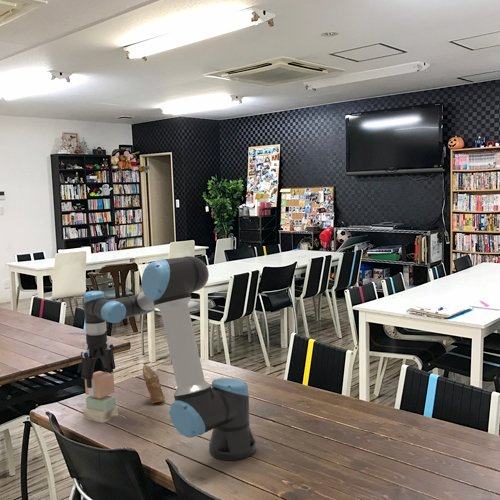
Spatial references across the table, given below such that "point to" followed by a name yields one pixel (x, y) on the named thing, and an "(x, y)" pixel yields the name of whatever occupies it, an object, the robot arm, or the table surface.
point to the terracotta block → (102, 384)
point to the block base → (100, 414)
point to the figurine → (153, 385)
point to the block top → (101, 403)
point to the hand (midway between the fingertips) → (100, 392)
